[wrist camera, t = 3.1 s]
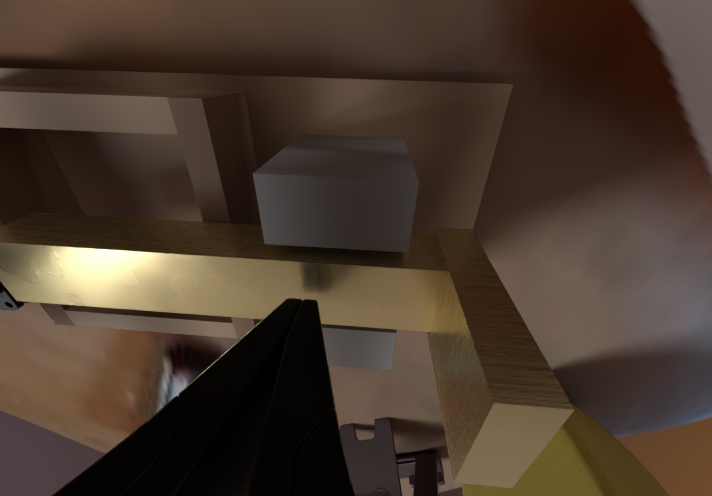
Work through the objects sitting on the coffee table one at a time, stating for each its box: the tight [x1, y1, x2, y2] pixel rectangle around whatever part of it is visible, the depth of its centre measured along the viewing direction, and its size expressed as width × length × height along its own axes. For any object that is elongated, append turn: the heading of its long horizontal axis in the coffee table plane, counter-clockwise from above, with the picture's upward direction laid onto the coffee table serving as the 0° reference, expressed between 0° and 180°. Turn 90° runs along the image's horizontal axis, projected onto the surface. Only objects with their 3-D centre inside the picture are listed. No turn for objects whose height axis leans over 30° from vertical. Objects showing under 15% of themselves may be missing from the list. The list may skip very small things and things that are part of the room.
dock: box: [0, 67, 513, 370], centre depth 11 cm, size 21×11×6 cm, turn 89°
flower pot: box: [462, 404, 669, 496], centre depth 17 cm, size 9×9×9 cm
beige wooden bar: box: [0, 212, 574, 488], centre depth 8 cm, size 15×3×6 cm, turn 89°
